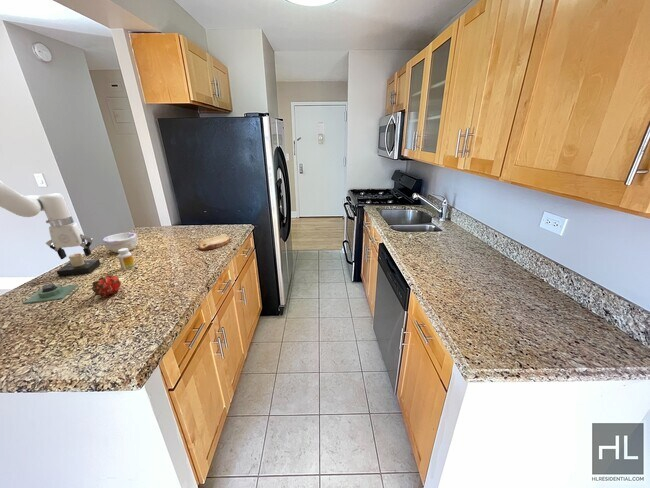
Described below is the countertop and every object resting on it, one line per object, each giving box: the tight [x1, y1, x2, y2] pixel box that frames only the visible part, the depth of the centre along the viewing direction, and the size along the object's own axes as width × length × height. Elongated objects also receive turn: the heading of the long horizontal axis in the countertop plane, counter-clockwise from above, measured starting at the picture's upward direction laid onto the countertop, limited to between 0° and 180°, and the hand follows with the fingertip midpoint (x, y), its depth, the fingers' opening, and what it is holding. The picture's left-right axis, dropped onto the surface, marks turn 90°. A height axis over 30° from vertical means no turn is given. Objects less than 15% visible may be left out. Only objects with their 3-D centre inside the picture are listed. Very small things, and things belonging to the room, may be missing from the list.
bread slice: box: [197, 234, 232, 251], centre depth 155 cm, size 18×18×4 cm
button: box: [41, 283, 56, 292], centre depth 101 cm, size 4×4×2 cm
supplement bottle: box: [117, 248, 136, 271], centre depth 125 cm, size 5×5×10 cm
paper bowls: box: [102, 232, 139, 254], centre depth 146 cm, size 15×15×8 cm
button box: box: [22, 284, 80, 305], centre depth 102 cm, size 12×10×4 cm
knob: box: [68, 253, 85, 267], centre depth 122 cm, size 4×4×5 cm
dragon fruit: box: [91, 274, 122, 298], centre depth 104 cm, size 8×8×12 cm
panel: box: [56, 258, 102, 278], centre depth 123 cm, size 12×10×3 cm
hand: (76, 256), depth 121 cm, fingers open, 9 cm apart
